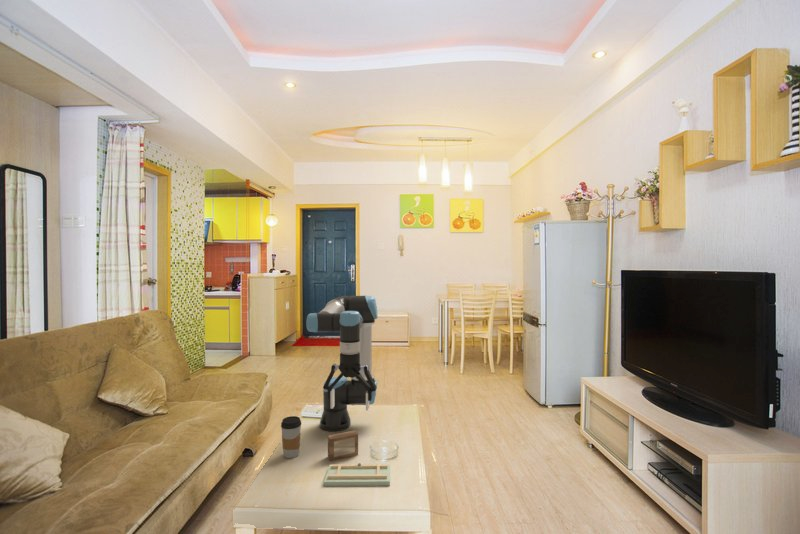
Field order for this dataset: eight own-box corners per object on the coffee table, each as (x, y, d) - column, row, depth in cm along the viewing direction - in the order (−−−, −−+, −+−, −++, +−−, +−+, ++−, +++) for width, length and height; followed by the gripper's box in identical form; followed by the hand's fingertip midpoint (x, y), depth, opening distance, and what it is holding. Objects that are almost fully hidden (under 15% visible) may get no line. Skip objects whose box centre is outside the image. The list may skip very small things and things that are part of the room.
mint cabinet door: (329, 468, 153) (329, 461, 153) (390, 468, 154) (390, 460, 154) (324, 485, 141) (323, 477, 141) (389, 485, 142) (389, 477, 142)
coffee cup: (295, 460, 159) (295, 424, 159) (277, 458, 161) (277, 422, 161) (304, 451, 168) (304, 416, 167) (287, 449, 169) (286, 415, 169)
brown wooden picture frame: (327, 456, 163) (327, 435, 163) (355, 451, 168) (355, 430, 168) (330, 461, 159) (330, 439, 159) (358, 455, 164) (358, 434, 164)
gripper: (314, 353, 145) (314, 410, 145) (380, 355, 142) (380, 413, 142) (321, 349, 152) (321, 402, 152) (384, 351, 149) (384, 406, 149)
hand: (349, 408), depth 147 cm, fingers open, 13 cm apart
